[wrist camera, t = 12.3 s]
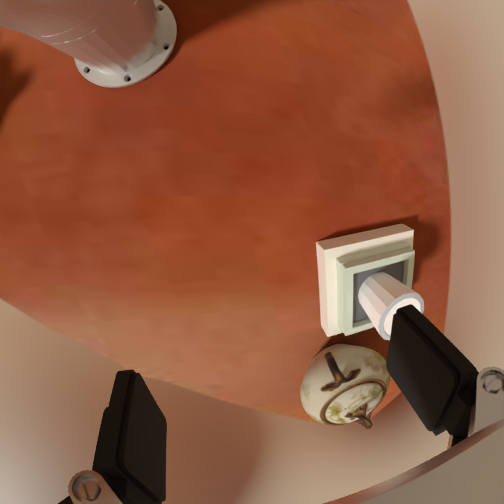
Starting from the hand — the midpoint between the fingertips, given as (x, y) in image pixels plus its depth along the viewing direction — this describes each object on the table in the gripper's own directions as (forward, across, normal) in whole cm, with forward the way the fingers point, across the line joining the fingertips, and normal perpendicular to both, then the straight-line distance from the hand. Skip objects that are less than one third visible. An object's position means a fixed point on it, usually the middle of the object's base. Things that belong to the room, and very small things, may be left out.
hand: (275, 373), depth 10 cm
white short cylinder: (+24, -18, +15) cm, 33 cm away
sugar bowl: (+28, -13, +31) cm, 44 cm away
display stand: (+28, -18, +15) cm, 37 cm away
